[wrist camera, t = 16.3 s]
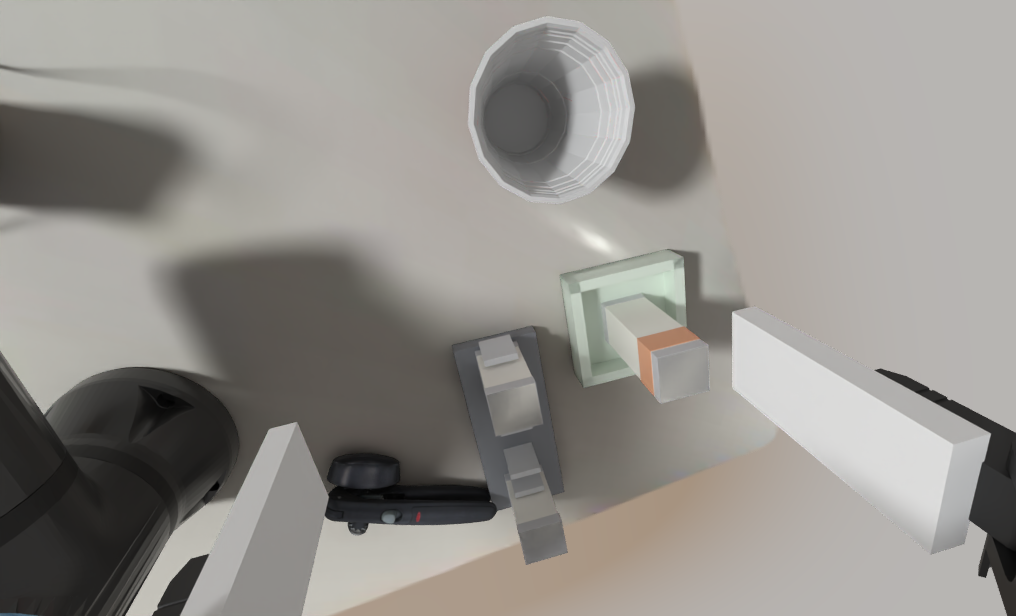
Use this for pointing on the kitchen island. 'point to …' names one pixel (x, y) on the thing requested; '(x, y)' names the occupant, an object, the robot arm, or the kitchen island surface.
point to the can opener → (397, 497)
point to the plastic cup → (551, 110)
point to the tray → (592, 286)
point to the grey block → (537, 523)
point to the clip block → (517, 448)
